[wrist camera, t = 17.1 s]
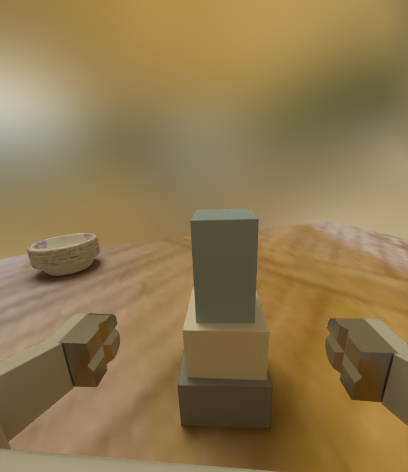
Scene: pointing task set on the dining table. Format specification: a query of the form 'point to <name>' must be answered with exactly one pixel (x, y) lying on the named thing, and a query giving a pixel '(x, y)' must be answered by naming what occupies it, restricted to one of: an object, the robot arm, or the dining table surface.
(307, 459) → the dining table surface
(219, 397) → the tower base
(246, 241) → the blue pillar
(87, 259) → the paper bowls
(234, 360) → the tower top
